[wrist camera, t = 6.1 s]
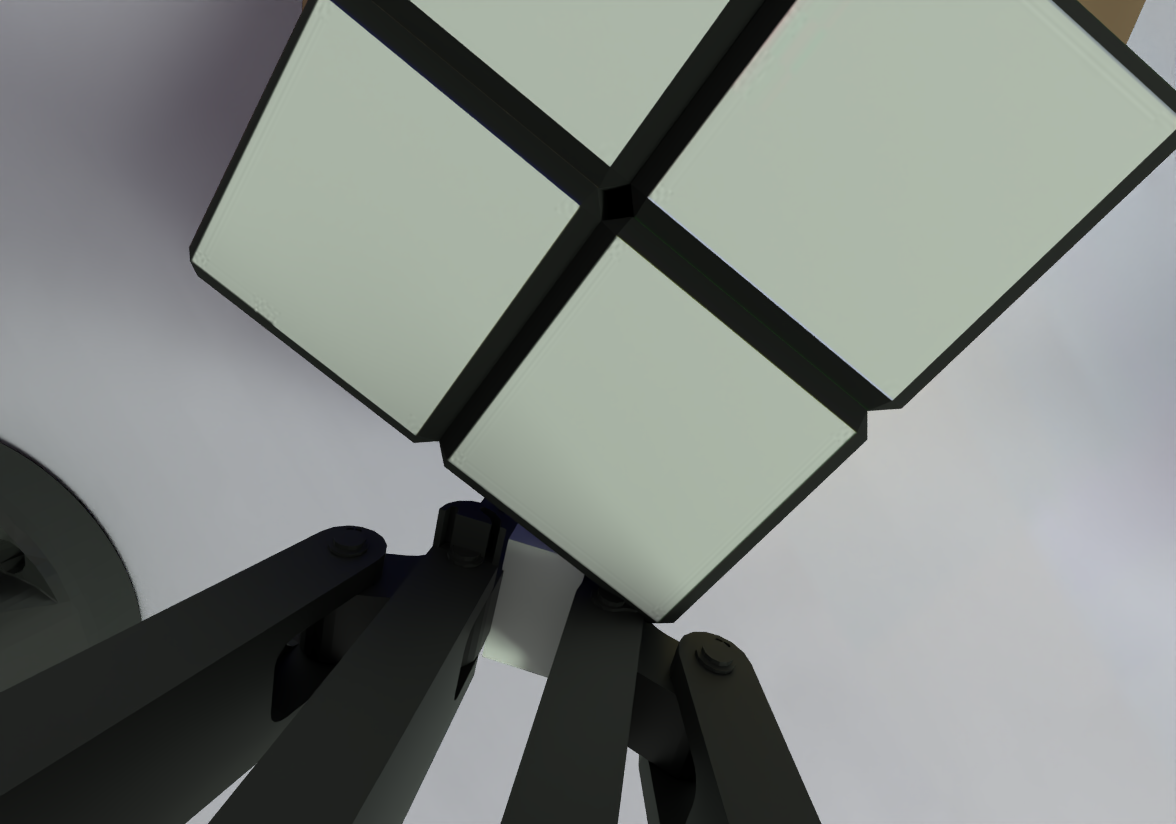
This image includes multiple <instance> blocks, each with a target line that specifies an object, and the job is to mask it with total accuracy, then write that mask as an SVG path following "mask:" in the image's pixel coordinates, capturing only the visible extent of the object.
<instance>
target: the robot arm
mask: <svg viewBox="0 0 1176 824" xmlns="http://www.w3.org/2000/svg"><path fill="white" fill-rule="evenodd" d="M386 548H387V544H386V542H385V540H384V538H383V537H382V536H380V535H379V534H378V533H376V532H375V531H372V530H369V529H366V528H363V527H358V526H339V527H332V528H329V529H326V530H323V531H321V532H319V533H317V534H315V535H313V536H311V537H309V538H307V539H305V540H303V541H301V542H299V543H297V544H295V545H293V546H291V547H289V548H287V549H285V550H283V551H281V552H279V553H277V554H275V555H273V556H271V557H269V558H267V559H265V560H263V561H261V562H259V563H257V564H255V565H253V566H251V567H249V568H247V569H245V570H243V571H241V572H239V573H237V574H235V575H233V576H231V577H229V578H227V579H225V580H223V581H221V582H219V583H217V584H215V585H213V586H211V587H209V588H207V589H205V590H203V591H201V592H199V593H197V594H195V595H193V596H191V597H189V598H187V599H185V600H183V601H181V602H179V603H177V604H175V605H173V606H171V607H169V608H167V609H165V610H163V611H161V612H159V613H157V614H155V615H153V616H152V617H150V618H148V619H146V620H144V621H142V622H141V615H140V611H139V606H138V603H137V599H136V596H135V592H134V590H133V587H132V584H131V582H130V579H129V577H128V575H127V572H126V570H125V568H124V566H123V564H122V562H121V560H120V558H119V556H118V554H117V553H116V551H115V549H114V548H113V546H112V544H111V543H110V541H109V540H108V538H107V537H106V535H105V534H104V532H103V531H102V530H101V528H100V527H99V526H98V524H97V523H96V522H95V520H94V519H93V518H92V517H91V515H90V514H89V513H88V512H87V511H86V509H85V508H84V507H83V506H82V505H81V504H80V503H79V502H78V501H77V500H76V499H75V497H74V496H73V495H71V494H70V493H69V492H68V491H67V490H66V489H65V488H64V487H63V486H62V485H61V484H60V483H59V482H57V481H56V480H55V479H54V478H53V477H52V476H50V475H49V474H48V473H47V472H45V471H44V470H43V469H42V468H40V467H39V466H37V465H36V464H35V463H33V462H32V461H30V460H29V459H27V458H26V457H24V456H23V455H21V454H19V453H18V452H16V451H14V450H13V449H11V448H9V447H7V446H5V445H3V444H1V443H0V824H185V823H186V822H188V821H189V820H190V819H191V818H192V817H194V816H195V815H196V814H197V813H198V812H199V811H201V810H202V809H203V808H204V807H205V806H207V805H208V804H209V803H210V802H211V801H213V800H214V799H215V798H216V797H217V796H218V795H220V794H221V793H222V792H223V791H224V790H226V789H227V788H228V787H229V786H230V785H232V784H233V783H234V782H235V781H236V780H237V779H239V778H240V777H241V776H242V775H243V774H245V773H246V772H247V771H248V770H249V769H251V768H252V767H253V766H254V765H255V764H256V763H257V764H256V765H255V766H254V768H253V769H252V770H251V771H250V772H249V774H248V775H247V776H246V777H245V779H244V780H243V781H242V782H241V784H240V785H239V786H238V787H237V789H236V790H235V791H234V792H233V793H232V795H231V796H230V797H229V798H228V800H227V801H226V802H225V803H224V805H223V806H222V807H221V808H220V810H219V811H218V812H217V813H216V814H215V816H214V817H213V818H212V819H211V821H210V822H209V823H208V824H402V823H403V821H404V819H405V817H406V815H407V813H408V811H409V809H410V807H411V804H412V802H413V800H414V798H415V796H416V794H417V792H418V790H419V788H420V786H421V784H422V782H423V780H424V778H425V775H426V773H427V771H428V769H429V767H430V765H431V763H432V761H433V759H434V757H435V755H436V753H437V751H438V749H439V746H440V744H441V742H442V740H443V738H444V736H445V734H446V732H447V730H448V728H449V726H450V724H451V722H452V720H453V717H454V715H455V713H456V711H457V709H458V707H459V705H460V703H461V701H462V699H463V697H464V695H465V693H466V691H467V688H468V686H469V684H470V682H471V680H472V678H473V676H474V672H475V668H476V664H477V659H478V655H479V652H480V651H481V649H482V647H483V645H484V643H485V646H484V651H483V655H482V656H483V657H486V658H489V659H492V660H495V661H498V662H501V663H504V664H507V665H511V666H514V667H517V668H520V669H523V670H526V671H529V672H532V673H535V674H538V675H541V676H544V677H548V679H547V682H546V685H545V689H544V692H543V695H542V698H541V701H540V704H539V707H538V710H537V713H536V716H535V719H534V722H533V726H532V729H531V732H530V735H529V738H528V741H527V744H526V747H525V750H524V753H523V756H522V759H521V763H520V766H519V769H518V772H517V775H516V778H515V781H514V784H513V787H512V790H511V793H510V796H509V800H508V803H507V806H506V809H505V812H504V815H503V818H502V821H501V824H618V817H619V809H620V801H621V793H622V785H623V777H624V770H625V762H626V754H627V747H629V748H630V749H632V750H633V751H635V752H636V753H638V754H639V772H640V778H641V784H642V790H643V796H644V802H645V808H646V814H647V821H648V824H821V822H820V820H819V817H818V815H817V813H816V811H815V808H814V806H813V804H812V801H811V799H810V797H809V795H808V792H807V790H806V788H805V785H804V783H803V781H802V779H801V776H800V774H799V772H798V769H797V767H796V765H795V763H794V760H793V758H792V756H791V754H790V751H789V749H788V747H787V744H786V742H785V740H784V738H783V735H782V733H781V731H780V728H779V726H778V724H777V722H776V719H775V717H774V715H773V712H772V710H771V708H770V706H769V703H768V701H767V699H766V696H765V694H764V692H763V690H762V687H761V685H760V683H759V680H758V678H757V676H756V674H755V671H754V669H753V667H752V665H751V663H750V661H749V660H748V658H747V657H746V655H745V654H744V652H742V651H741V650H740V649H739V648H738V647H737V646H735V645H734V644H733V643H732V642H730V641H728V640H726V639H724V638H722V637H720V636H718V635H714V634H711V633H707V632H692V633H689V634H687V635H684V636H683V638H682V639H681V640H680V642H679V641H677V640H675V639H673V638H672V637H670V636H668V635H666V634H665V633H663V632H662V631H660V630H659V629H657V628H656V627H655V626H654V625H653V624H652V623H646V622H645V621H644V615H642V614H641V613H639V612H638V611H637V610H636V609H635V608H633V607H631V606H630V605H628V604H626V603H625V601H624V600H622V599H620V598H619V597H617V596H615V595H614V594H612V593H610V592H608V591H607V590H605V589H603V588H601V587H600V586H599V585H597V584H596V583H595V582H593V581H592V580H591V579H589V578H588V577H587V576H586V575H584V574H583V573H582V572H580V571H579V570H578V569H576V568H575V567H574V566H573V565H571V564H570V563H569V562H567V561H566V560H565V559H564V558H562V557H561V556H560V555H558V554H557V553H556V552H554V551H553V550H552V549H551V548H549V547H548V546H547V545H545V544H544V543H543V542H542V541H540V540H539V539H538V538H536V537H535V536H534V535H532V534H531V533H530V532H529V531H527V530H526V529H525V528H523V527H522V526H521V525H520V524H518V523H517V522H516V521H514V520H513V519H512V518H510V517H509V516H508V515H507V514H505V513H504V512H503V511H501V510H500V509H499V508H498V507H496V506H495V505H494V504H492V503H491V502H490V501H488V500H487V499H486V498H484V499H483V500H482V502H481V503H479V502H474V501H456V502H452V503H447V504H446V505H444V506H443V507H441V508H440V509H439V514H438V519H437V525H436V530H435V536H434V542H433V546H432V548H431V549H430V550H429V551H428V553H427V554H426V555H420V556H406V555H396V554H386ZM485 641H486V642H485Z"/></svg>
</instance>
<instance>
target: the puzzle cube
mask: <svg viewBox="0 0 1176 824" xmlns="http://www.w3.org/2000/svg"><path fill="white" fill-rule="evenodd" d="M1174 150H1176V90H1175V89H1174V88H1172V87H1171V86H1170V85H1169V84H1168V83H1167V82H1166V81H1165V80H1164V79H1163V78H1162V77H1160V76H1159V75H1158V74H1157V73H1156V72H1155V71H1154V70H1153V69H1152V68H1151V67H1150V66H1148V65H1147V64H1146V63H1145V62H1144V61H1143V60H1142V59H1141V58H1140V57H1139V56H1138V55H1136V54H1135V53H1134V52H1133V51H1132V50H1131V49H1130V48H1129V47H1128V46H1127V45H1126V44H1124V43H1123V42H1122V41H1121V40H1120V39H1119V38H1118V37H1117V36H1116V35H1115V34H1114V33H1112V32H1111V31H1110V30H1109V29H1108V28H1107V27H1106V26H1105V25H1104V24H1103V23H1102V22H1100V21H1099V20H1098V19H1097V18H1096V17H1095V16H1094V15H1093V14H1092V13H1091V12H1089V11H1088V10H1087V9H1086V8H1085V7H1084V6H1083V5H1082V4H1081V3H1080V2H1079V1H1077V0H307V3H306V5H305V7H304V9H303V11H302V13H301V15H300V17H299V19H298V21H297V23H296V25H295V28H294V30H293V32H292V34H291V36H290V38H289V40H288V42H287V44H286V46H285V48H284V51H283V53H282V55H281V57H280V59H279V61H278V63H277V65H276V67H275V69H274V71H273V73H272V76H271V78H270V80H269V82H268V84H267V86H266V88H265V90H264V92H263V94H262V96H261V99H260V101H259V103H258V105H257V107H256V109H255V111H254V113H253V115H252V117H251V119H250V121H249V124H248V126H247V128H246V130H245V132H244V134H243V136H242V138H241V140H240V142H239V144H238V146H237V149H236V151H235V153H234V155H233V157H232V159H231V161H230V163H229V165H228V167H227V169H226V172H225V174H224V176H223V178H222V180H221V182H220V184H219V186H218V188H217V190H216V192H215V194H214V197H213V199H212V201H211V203H210V205H209V207H208V209H207V211H206V213H205V215H204V217H203V220H202V222H201V224H200V226H199V228H198V230H197V232H196V234H195V236H194V238H193V240H192V242H191V245H190V247H189V251H190V262H191V264H192V266H193V268H194V270H195V272H196V273H197V275H198V276H199V277H200V278H201V279H202V280H204V281H205V282H206V283H208V284H209V285H210V286H211V287H213V288H214V289H215V290H217V291H218V292H219V293H221V294H222V295H223V296H224V297H226V298H227V299H228V300H230V301H231V302H232V303H233V304H235V305H236V306H237V307H239V308H240V309H241V310H243V311H244V312H245V313H246V314H248V315H249V316H250V317H252V318H253V319H254V320H255V321H257V322H258V323H259V324H261V325H262V326H263V327H265V328H266V329H267V330H268V331H270V332H271V333H272V334H274V335H275V336H276V337H278V338H279V339H280V340H281V341H283V342H284V343H285V344H287V345H288V346H289V347H290V348H292V349H293V350H294V351H296V352H297V353H298V354H300V355H301V356H302V357H303V358H305V359H306V360H307V361H309V362H310V363H311V364H312V365H314V366H315V367H316V368H318V369H319V370H320V371H322V372H323V373H324V374H325V375H327V376H328V377H329V378H331V379H332V380H333V381H334V382H336V383H337V384H338V385H340V386H341V387H342V388H344V389H345V390H346V391H347V392H349V393H350V394H351V395H353V396H354V397H355V398H356V399H358V400H359V401H360V402H362V403H363V404H364V405H366V406H367V407H368V408H369V409H371V410H372V411H373V412H375V413H376V414H377V415H378V416H380V417H381V418H382V419H384V420H385V421H386V422H388V423H389V424H390V425H391V426H393V427H394V428H395V429H397V430H398V431H399V432H400V433H402V434H403V435H404V436H406V437H407V438H408V439H410V440H411V441H412V442H413V443H418V442H432V441H439V443H440V448H441V453H442V458H443V463H444V467H446V468H447V469H448V470H450V471H451V472H452V473H454V474H455V475H456V476H457V477H459V478H460V479H461V480H463V481H464V482H465V483H466V484H468V485H469V486H470V487H472V488H473V489H474V490H476V491H477V492H478V493H479V494H481V495H482V496H483V497H485V498H486V499H487V500H488V501H490V502H491V503H492V504H494V505H495V506H496V507H498V508H499V509H500V510H501V511H503V512H504V513H505V514H507V515H508V516H509V517H510V518H512V519H513V520H514V521H516V522H517V523H518V524H520V525H521V526H522V527H523V528H525V529H526V530H527V531H529V532H530V533H531V534H532V535H534V536H535V537H536V538H538V539H539V540H540V541H542V542H543V543H544V544H545V545H547V546H548V547H549V548H551V549H552V550H553V551H554V552H556V553H557V554H558V555H560V556H561V557H562V558H564V559H565V560H566V561H567V562H569V563H570V564H571V565H573V566H574V567H575V568H576V569H578V570H579V571H580V572H582V573H583V574H584V575H586V576H587V577H588V578H589V579H591V580H592V581H593V582H595V583H596V584H597V585H599V586H600V587H601V588H603V589H605V590H607V591H608V592H610V593H612V594H614V595H615V596H617V597H619V598H620V599H622V600H624V601H625V603H626V604H628V605H630V606H631V607H633V608H635V609H636V610H637V611H638V612H639V613H641V614H642V615H644V621H645V622H646V623H674V622H675V621H676V620H677V619H678V618H679V617H680V616H681V615H682V614H683V613H684V612H686V611H687V610H688V609H689V608H690V607H691V606H692V605H693V604H694V603H695V602H696V601H697V600H698V599H699V598H700V597H701V596H702V595H703V594H705V593H706V592H707V591H708V590H709V589H710V588H711V587H712V586H713V585H714V584H715V583H716V582H717V581H718V580H719V579H720V578H721V577H723V576H724V575H725V574H726V573H727V572H728V571H729V570H730V569H731V568H732V567H733V566H734V565H735V564H736V563H737V562H738V561H739V560H740V559H742V558H743V557H744V556H745V555H746V554H747V553H748V552H749V551H750V550H751V549H752V548H753V547H754V546H755V545H756V544H757V543H758V542H760V541H761V540H762V539H763V538H764V537H765V536H766V535H767V534H768V533H769V532H770V531H771V530H772V529H773V528H774V527H775V526H776V525H777V524H779V523H780V522H781V521H782V520H783V519H784V518H785V517H786V516H787V515H788V514H789V513H790V512H791V511H792V510H793V509H794V508H795V507H797V506H798V505H799V504H800V503H801V502H802V501H803V500H804V499H805V498H806V497H807V496H808V495H809V494H810V493H811V492H812V491H813V490H814V489H816V488H817V487H818V486H819V485H820V484H821V483H822V482H823V481H824V480H825V479H826V478H827V477H828V476H829V475H830V474H831V473H832V472H834V471H835V470H836V469H837V468H838V467H839V466H840V465H841V464H842V463H843V462H844V461H845V460H846V459H847V458H848V457H849V456H850V455H851V454H853V453H854V452H855V451H856V450H857V449H858V448H859V447H860V446H861V445H862V444H863V443H864V442H865V441H866V440H867V410H868V411H873V410H887V409H901V408H903V407H904V406H905V405H906V404H907V403H908V402H909V401H910V400H911V399H912V398H913V397H914V396H915V395H916V394H917V393H918V392H919V391H921V390H922V389H923V388H924V387H925V386H926V385H927V384H928V383H929V382H930V381H931V380H932V379H933V378H934V377H935V376H936V375H937V374H938V373H940V372H941V371H942V370H943V369H944V368H945V367H946V366H947V365H948V364H949V363H950V362H951V361H952V360H953V359H954V358H955V357H956V356H958V355H959V354H960V353H961V352H962V351H963V350H964V349H965V348H966V347H967V346H968V345H969V344H970V343H971V342H972V341H973V340H974V339H976V338H977V337H978V336H979V335H980V334H981V333H982V332H983V331H984V330H985V329H986V328H987V327H988V326H989V325H990V324H991V323H992V322H994V321H995V320H996V319H997V318H998V317H999V316H1000V315H1001V314H1002V313H1003V312H1004V311H1005V310H1006V309H1007V308H1008V307H1009V306H1010V305H1012V304H1013V303H1014V302H1015V301H1016V300H1017V299H1018V298H1019V297H1020V296H1021V295H1022V294H1023V293H1024V292H1025V291H1026V290H1027V289H1028V288H1029V287H1031V286H1032V285H1033V284H1034V283H1035V282H1036V281H1037V280H1038V279H1039V278H1040V277H1041V276H1042V275H1043V274H1044V273H1045V272H1046V271H1047V270H1049V269H1050V268H1051V267H1052V266H1053V265H1054V264H1055V263H1056V262H1057V261H1058V260H1059V259H1060V258H1061V257H1062V256H1063V255H1064V254H1065V253H1067V252H1068V251H1069V250H1070V249H1071V248H1072V247H1073V246H1074V245H1075V244H1076V243H1077V242H1078V241H1079V240H1080V239H1081V238H1082V237H1083V236H1085V235H1086V234H1087V233H1088V232H1089V231H1090V230H1091V229H1092V228H1093V227H1094V226H1095V225H1096V224H1097V223H1098V222H1099V221H1100V220H1101V219H1102V218H1104V217H1105V216H1106V215H1107V214H1108V213H1109V212H1110V211H1111V210H1112V209H1113V208H1114V207H1115V206H1116V205H1117V204H1118V203H1119V202H1120V201H1122V200H1123V199H1124V198H1125V197H1126V196H1127V195H1128V194H1129V193H1130V192H1131V191H1132V190H1133V189H1134V188H1135V187H1136V186H1137V185H1138V184H1140V183H1141V182H1142V181H1143V180H1144V179H1145V178H1146V177H1147V176H1148V175H1149V174H1150V173H1151V172H1152V171H1153V170H1154V169H1155V168H1156V167H1158V166H1159V165H1160V164H1161V163H1162V162H1163V161H1164V160H1165V159H1166V158H1167V157H1168V156H1169V155H1170V154H1171V153H1172V152H1173V151H1174Z"/></svg>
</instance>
